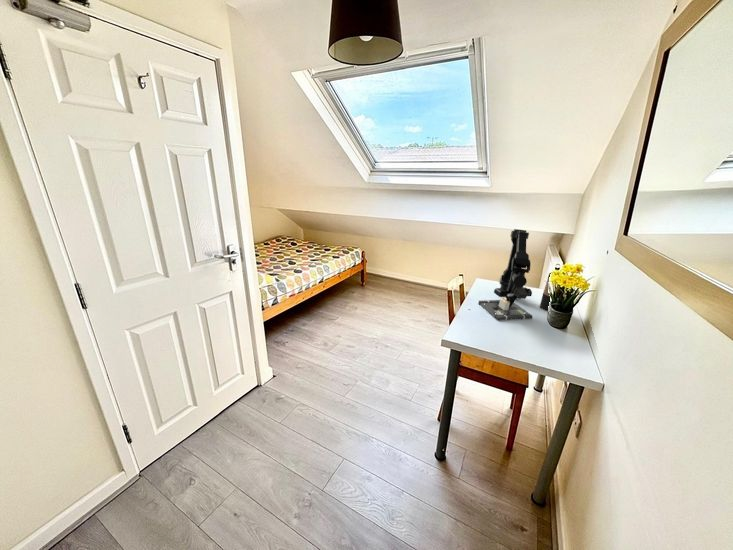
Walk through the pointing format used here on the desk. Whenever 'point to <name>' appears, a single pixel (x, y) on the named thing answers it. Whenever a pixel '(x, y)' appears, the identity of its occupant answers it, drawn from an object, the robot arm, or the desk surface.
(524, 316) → the cord bundle outer
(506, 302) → the lever
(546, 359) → the desk surface
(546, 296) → the travel mug
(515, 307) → the breaker panel
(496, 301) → the cord bundle inner
